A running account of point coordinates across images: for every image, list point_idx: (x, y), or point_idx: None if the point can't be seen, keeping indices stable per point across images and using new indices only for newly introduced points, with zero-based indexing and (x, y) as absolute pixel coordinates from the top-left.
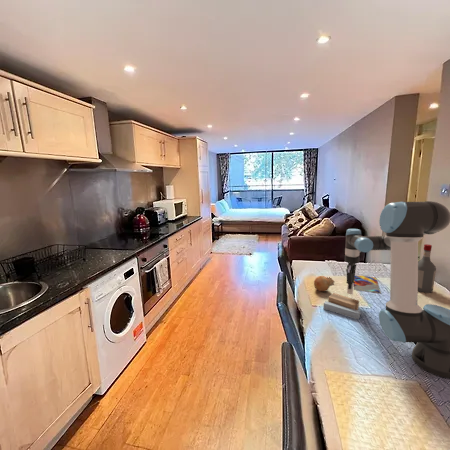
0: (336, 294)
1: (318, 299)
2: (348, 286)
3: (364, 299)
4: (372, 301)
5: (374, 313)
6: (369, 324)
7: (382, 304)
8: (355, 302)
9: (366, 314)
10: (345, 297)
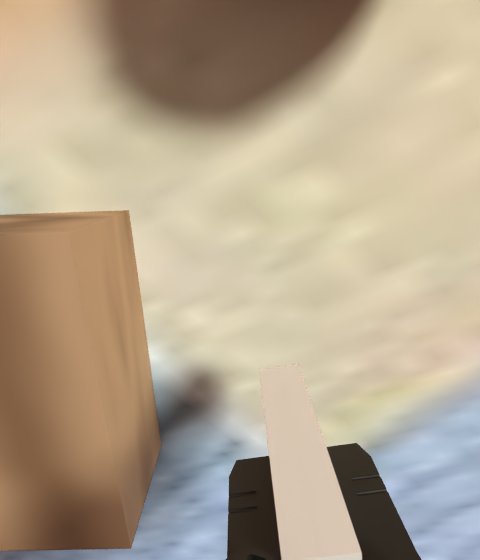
0: (48, 294)
1: (16, 22)
2: (229, 518)
3: (422, 414)
4: (423, 469)
5: (211, 531)
6: (29, 550)
7: (414, 529)
8: (55, 538)
9: (147, 502)
10: (75, 422)
